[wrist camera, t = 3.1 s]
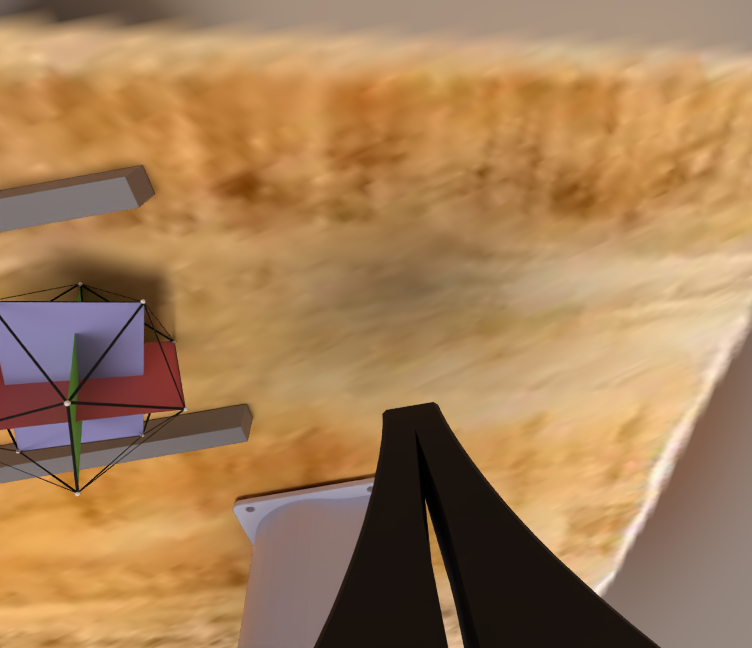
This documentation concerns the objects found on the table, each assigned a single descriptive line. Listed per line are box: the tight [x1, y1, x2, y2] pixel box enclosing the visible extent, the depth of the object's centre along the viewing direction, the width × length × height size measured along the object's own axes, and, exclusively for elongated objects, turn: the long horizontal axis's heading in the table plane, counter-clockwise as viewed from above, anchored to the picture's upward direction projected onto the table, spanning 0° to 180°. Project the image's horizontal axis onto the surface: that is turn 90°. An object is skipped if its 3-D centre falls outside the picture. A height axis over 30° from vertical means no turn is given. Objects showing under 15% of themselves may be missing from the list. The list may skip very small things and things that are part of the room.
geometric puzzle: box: [0, 282, 188, 496], centre depth 16 cm, size 7×7×8 cm
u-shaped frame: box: [0, 165, 253, 483], centre depth 17 cm, size 16×12×3 cm
